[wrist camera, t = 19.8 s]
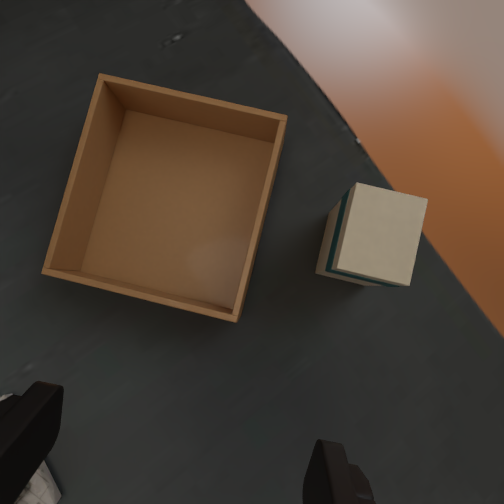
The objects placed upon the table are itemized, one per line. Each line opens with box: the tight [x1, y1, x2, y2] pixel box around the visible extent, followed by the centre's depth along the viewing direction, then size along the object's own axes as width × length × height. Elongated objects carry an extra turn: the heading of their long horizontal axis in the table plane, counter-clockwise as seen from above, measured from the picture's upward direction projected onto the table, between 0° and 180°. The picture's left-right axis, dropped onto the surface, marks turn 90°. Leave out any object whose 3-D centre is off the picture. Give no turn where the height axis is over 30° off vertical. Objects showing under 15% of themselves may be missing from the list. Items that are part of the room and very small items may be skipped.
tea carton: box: [315, 183, 428, 287], centre depth 29 cm, size 6×5×10 cm
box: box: [41, 73, 288, 323], centre depth 32 cm, size 16×15×5 cm
